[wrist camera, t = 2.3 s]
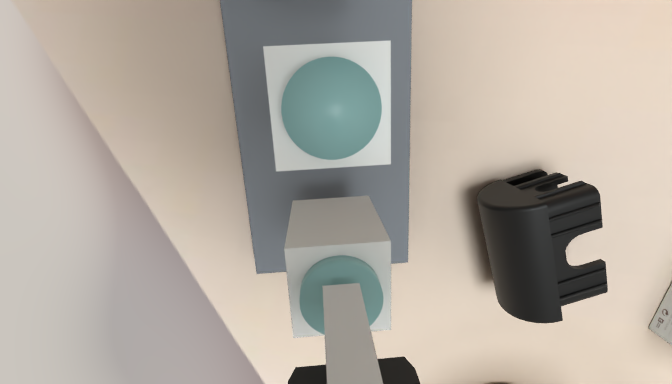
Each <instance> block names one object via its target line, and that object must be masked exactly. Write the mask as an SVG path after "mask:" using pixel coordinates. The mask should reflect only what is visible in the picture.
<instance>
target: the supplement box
mask: <svg viewBox="0 0 672 384" xmlns="http://www.w3.org/2000/svg"><path fill="white" fill-rule="evenodd" d="M649 329H650V330H651V331H653V332H654V333H656V334H657V335H658V336H660V337H661V338H662V339H664V340H665V341H667V342H668V343H669V344H671V345H672V284H671V286H670V288H669V290H668V291H667V293H666V295H665V297H664V299H663V301H662V303H661V305H660V307H659V309H658V310H657V312H656V314H655V316H654V318H653V320H652V322H651V324H650V326H649Z"/></svg>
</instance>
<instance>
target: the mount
mask: <svg viewBox="0 0 672 384" xmlns="http://www.w3.org/2000/svg"><path fill="white" fill-rule="evenodd" d="M220 4H221V11H222V19H223V26H224V34H225V41H226V49H227V56H228V64H229V71H230V79H231V86H232V93H233V101H234V108H235V116H236V123H237V131H238V138H239V146H240V153H241V161H242V168H243V175H244V183H245V190H246V198H247V205H248V213H249V220H250V228H251V235H252V243H253V250H254V257H255V265H256V272H257V274H260V273H273V272H287V271H286V261H285V251H284V247H285V242H286V236H287V230H288V225H289V219H290V213H291V208H292V202H293V201H295V200H310V199H325V198H340V197H355V196H369V198H370V200H371V202H372V204H373V206H374V208H375V210H376V212H377V214H378V216H379V218H380V220H381V222H382V224H383V226H384V228H385V230H386V232H387V234H388V236H389V238H390V240H391V264H392V263H405V262H408V222H409V157H410V91H411V25H412V0H220ZM390 40H391V164H388V165H372V166H356V167H340V168H324V169H308V170H292V171H276V165H275V156H274V146H273V136H272V127H271V117H270V108H269V98H268V89H267V79H266V69H265V60H264V50H263V46H282V45H303V44H325V43H347V42H368V41H390Z"/></svg>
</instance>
